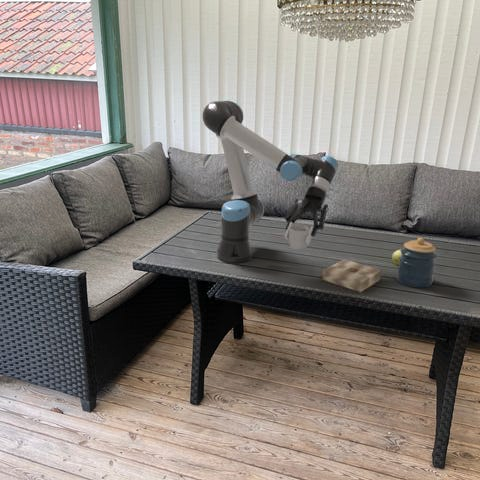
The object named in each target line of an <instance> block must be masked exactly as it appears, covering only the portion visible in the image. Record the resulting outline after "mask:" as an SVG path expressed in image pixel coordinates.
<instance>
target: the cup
mask: <svg viewBox="0 0 480 480" xmlns="http://www.w3.org/2000/svg"><path fill="white" fill-rule="evenodd" d="M310 228H311V227H309V226H306V225H302V224H301V225H300V224H295V225H294V224H293V226H290V227H289V239H288V242H289V243H288V245H289V247H290V249H292V250H295V251H303V250H305V249H306V248H307V247H308V244H307V243H306V241H305V240H306V238H307V236H308V233H309V231H310Z"/></svg>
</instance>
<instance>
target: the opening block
mask: <svg viewBox="0 0 480 480" xmlns="http://www.w3.org/2000/svg"><path fill="white" fill-rule="evenodd" d="M381 278H382V269H380V268H376V267H375V268H374V267H372V266H369V265H364V264H361V263H358V262H354V261H351V260H348V259H345V258H344V259H343V260H340V261H338V262H336V263H335V264H333V265H331V266H328V267H326V268H324V269H322V280H323V281H326V282H328V283H332V284H334V285H338V286H341V287H344V288H347V289H350V290H353V291H356V292H359V293H362V292H363V291H365V290H367V289H369V288H370V287H371V286H372V285H375V284H376V283H377V282H379V281H381Z"/></svg>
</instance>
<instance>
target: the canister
mask: <svg viewBox="0 0 480 480" xmlns="http://www.w3.org/2000/svg"><path fill="white" fill-rule="evenodd" d="M400 250H401V253H402V254H401V257H400V258H399V260H400V261H399V265H398V268H397V272H396V280H397V282H399V283H400V284H402V285H404V286H408V287H410V288H417V289H418V288H419V289H423V288H424V289H425V288H428V287H430V286H431V285H432V283H433V280H434V275H435V274H434V273H435V267H436V259H437V257H438V254H437V252H436V250H437V249H436V247H435V246H433V244H432V243H430V242H427V241H425V239H424V238H423V237H418V238H417V239H416V240H415V239H414V240H413V239H412V240H409V241H407V242H405V243H403V247H402V248H401V249H400Z"/></svg>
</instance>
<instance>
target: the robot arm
mask: <svg viewBox="0 0 480 480" xmlns="http://www.w3.org/2000/svg"><path fill="white" fill-rule="evenodd" d="M243 121H244V111H243V109H242V108H241V105H239V104H238V103H237V102H234V101H232V100H222V101H221V100H219V101H217V100H216V101H212V102H209V103H208V104H207V105H206V106H205V107H204V109H203V111H202V122H203V124H204V126H205V127H206V128H207V129H208V130H210V131H211V132H212V133H214V134H215V135H216V138H218V139H219V140H221V141H220V142H221V145H222V149H223V153H224V158H225V163H226V167H227V171H228V176H229V180H230V184H231V188H232V193H233V195H232V196H231V201H230V200H229V201H227V202H225V203H223V205H222V207H221V213H220V216H221V219H220V220H221V221H220V222H221V226H220V227H221V228H220V229H221V230H220V231H221V233H220V234H221V236H220V242H219V245H218V247H217V251H216V258H217V259H218V260H220V261H222V262H226V263H232V264H233V263H235V264H237V263H239V264H240V263H245V262H249V261H250V260H252V259H253V251H252V248H251V243H250V237H249V236H250V228H251V227H252V226H253V225H256V224H257V223H258V222H260V220H261V219H262V218H263V216H264V212H265V208H264V203H263V202H262V200H261V199H260V198H259V196H258V193H257V191H255V190H254V189H253V185H252V182H251V176H250V172H249V168H248V163H247V160H246V159H247V158H246V154H245V151H246V152H248V153H249V154H250V155H252V156H254V157H255V158H257V159H258V160H259V161H261V162H263V163H264V164H266V165H268V166H269V167H270V168H271V169H274V171H277V172H278V173H279V174H280V176H281V177H282V179H283V180H285V181H286V182H293V181H297V180H298V179H299V178H301V177H304V176H305V177H309V178H311V182H310V183H309V186H308V188H307V190H306V192H305V195H304V197H303V198H302V200H299V199H298V198H296V199H295V200H294V202H293V204H292V207H291V208H290V209H289V211H288V212H287V214H286V216H285V217H284V219H285V221H286V223H287V224H286V226H285V231H286V232H285V234H284V238H285V240H287V241H289V227H290V226H293V225H294V224H295V223H296V222H297V220H298V219H300V218H301V217H302V215H303V214H306V213H307V212H308V213H312V217H313V218H312V219H313V226H312V225H311V227H309V228H310V231H309V233H308V236H307V238H306V240H305V241H306V243H307V246H308V245H310V243H311V241H312V238H313V237H314V238H315V236H316V234H317V232H318V230H323V229H324V226H325V222H326V217H327V213H328V211H329V210H330V208H329V205H328V204H324V201H325V199H326V197H327V194H328V192H329V189H330V187H331V184H332V182H333V179H334V177H335V176H336V173H337V170H338V166H339V164H338V160H337V159H336V158H334V157H333V156H330V155H324V156H323V155H322V157H320V159H315V158H312V157H308V156H304V155H302V154H297V153H292V154H290V155H289V154H288V153H286V152H285V151H283V150H282V149H280V148H278V146H276V145H274V144H273V143H272V142H269V141H268V140H266V139H265V138H263V137H262V136H260V135H258V133H255V131H252V130H251V129H249V128H248V127H246V126H245V125H243ZM320 209H321V213H320V218H319V219H318V214H319V213H318V211H319V210H320ZM318 221H319V222H318Z"/></svg>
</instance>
